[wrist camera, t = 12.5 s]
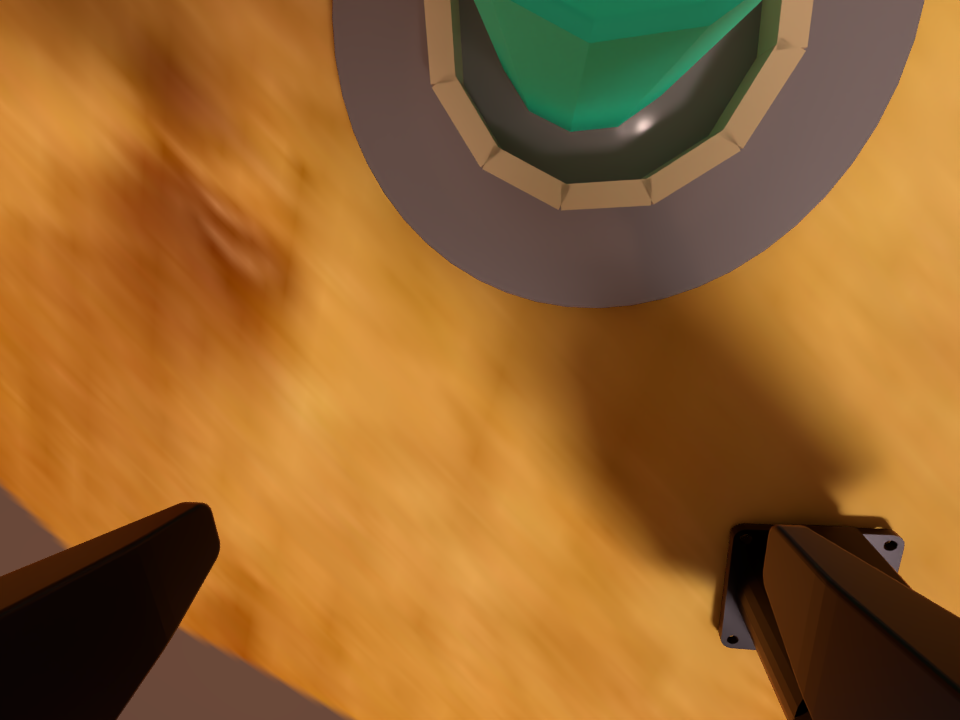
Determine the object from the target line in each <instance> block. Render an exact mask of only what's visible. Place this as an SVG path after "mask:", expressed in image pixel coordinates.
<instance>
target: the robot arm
mask: <svg viewBox="0 0 960 720" xmlns="http://www.w3.org/2000/svg"><path fill="white" fill-rule="evenodd" d="M745 534H747V535H748V536H747V537H746V538H740V537H741V536H742V535H745ZM887 541H890V542H889V543H888V544H885V543H886V542H887ZM903 550H904V541H903V539H902V538H901V537H900V536H899V535H898V534H897V533H896V532H894V531H893V530H889V529H871V528H855V527H842V526H816V525H778V524H777V525H768V524H738V525H736V526H734V527H733V528H732V529H731V532H730V538H729V546H728V555H727V563H726V572H725V580H724V589H723V597H722V606H721V614H720V623H719V631H718V632H719V636H720V639H721V642H722V643H723V645H725V646H726V647H729V648H737V649H750V650H757V653H758V655H759V657H760V659H761V662H762V664H763V666H764V669H765V671H766V673H767V675H768V678H769V680H770V682H771V684H772V687H773V689H774V691H775V694H776V696H777V698H778V700H779V703H780V705H781V707H782V709H783V712H784V714H785V716H786V719H787V720H960V618H959V617H958V616H956V615H954V614H953V613H951V612H949V611H948V610H946V609H944V608H942V607H941V606H939V605H937V604H936V603H934V602H932V601H931V600H929V599H927V598H926V597H924V596H922V595H920V594H919V593H917V592H915V591H914V590H912V588H911V587H910V586H909V585H908V584H907V583H906V582H905V581H904V580H903V578H902V577H901V576H900V575H899V574H898V570H899V566H900V562H901V558H902V554H903ZM219 551H220V540H219V536H218V532H217V529H216V525H215V521H214V517H213V513H212V510H211V508H210V507H209V506H208V505H207V504H205V503H198V502H183V503H179V504H177V505H174V506H172V507H169V508H167V509H165V510H162V511H160V512H157V513H155V514H152V515H150V516H147V517H145V518H143V519H140V520H138V521H135V522H133V523H130V524H128V525H125V526H123V527H121V528H118V529H116V530H113V531H111V532H108V533H106V534H103V535H101V536H98V537H96V538H94V539H91V540H89V541H86V542H84V543H81V544H79V545H76V546H74V547H72V548H69V549H67V550H64V551H62V552H59V553H57V554H54V555H52V556H50V557H47V558H45V559H42V560H40V561H37V562H35V563H32V564H30V565H28V566H25V567H23V568H20V569H18V570H15V571H13V572H11V573H8V574H6V575H3V576H1V577H0V720H117V719H118V717H119V716H120V714H121V713H122V711H123V710H124V708H125V707H126V705H127V704H128V703H129V701H130V700H131V698H132V697H133V695H134V694H135V692H136V691H137V689H138V688H139V686H140V685H141V683H142V682H143V681H144V679H145V678H146V676H147V675H148V673H149V672H150V670H151V669H152V667H153V666H154V664H155V663H156V661H157V660H158V658H159V657H160V655H161V654H162V652H163V651H164V649H165V648H166V646H167V645H168V643H169V641H170V640H171V638H172V636H173V635H174V633H175V631H176V630H177V628H178V626H179V624H180V623H181V621H182V619H183V617H184V616H185V614H186V612H187V610H188V609H189V607H190V605H191V603H192V602H193V600H194V598H195V596H196V594H197V593H198V591H199V589H200V587H201V586H202V584H203V582H204V580H205V579H206V577H207V575H208V573H209V572H210V570H211V568H212V566H213V564H214V563H215V561H216V559H217V557H218V554H219ZM732 635H734V636H732ZM729 636H732V637H729Z"/></svg>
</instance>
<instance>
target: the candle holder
mask: <svg viewBox="0 0 960 720" xmlns="http://www.w3.org/2000/svg"><path fill="white" fill-rule="evenodd" d="M923 4H924V0H762V1H761V2H760V3H759V4H758V5H757V6H756V7H755V8H754V9H753V10H752V11H750V12H749V13H748V14H747V15H746V16H745V17H744V18H743V19H742V20H741V21H740V22H739V23H738V24H737V25H736V26H735V27H733V28H732V29H731V30H730V31H729V32H728V33H727V34H726V35H725V36H724V37H723V38H722V39H721V40H720V41H719V42H718V43H716V44H715V45H714V46H713V47H712V48H711V49H710V50H709V51H708V52H707V53H706V54H705V55H704V56H703V57H702V58H701V59H699V60H698V61H697V62H696V63H695V64H694V65H693V66H692V67H691V68H690V69H689V70H688V71H687V72H686V73H685V74H684V75H682V76H681V77H680V78H679V79H678V80H677V81H676V82H675V83H674V84H673V85H672V86H671V87H670V88H669V89H668V90H667V91H665V92H664V93H663V94H662V95H661V96H660V97H659V98H657V99H656V100H654V101H653V102H652V103H650V104H649V105H647V106H646V107H645V108H643V109H642V110H640V111H639V112H638V113H636V114H635V115H634V116H632V117H631V118H629V119H628V120H627V121H625V122H624V123H622V124H621V125H620V126H618V127H611V128H602V129H593V130H583V131H574V132H569V131H567V130H565V129H563V128H561V127H559V126H558V125H556V124H554V123H552V122H550V121H548V120H546V119H544V118H542V117H540V116H538V115H536V114H534V113H532V112H530V111H529V110H528V109H527V107H526V105H525V104H524V102H523V100H522V99H521V97H520V96H519V94H518V92H517V91H516V89H515V87H514V86H513V84H512V82H511V81H510V79H509V77H508V76H507V74H506V73H505V71H504V69H503V67H502V65H501V62H500V60H499V58H498V55H497V53H496V51H495V48H494V46H493V44H492V41H491V39H490V37H489V35H488V32H487V30H486V28H485V25H484V23H483V21H482V18H481V16H480V14H479V11H478V9H477V7H476V4H475V2H474V0H333V14H332V19H333V32H334V45H335V58H336V63H337V69H338V74H339V79H340V85H341V90H342V96H343V99H344V102H345V106H346V109H347V112H348V115H349V119H350V122H351V125H352V129H353V132H354V134H355V136H356V139H357V141H358V143H359V146H360V148H361V150H362V153H363V155H364V157H365V159H366V162H367V164H368V166H369V167H370V169H371V171H372V173H373V174H374V176H375V178H376V180H377V181H378V183H379V185H380V187H381V188H382V190H383V192H384V193H385V195H386V196H387V197H388V199H389V200H390V201H391V203H392V204H393V205H394V207H395V208H396V209H397V211H398V212H399V214H400V215H401V216H402V218H403V219H404V220H405V221H406V222H407V223H408V224H409V225H410V226H411V227H412V228H413V230H414V231H415V232H416V233H417V234H418V235H419V236H420V237H421V238H422V239H423V240H424V241H425V242H426V243H427V244H428V245H429V246H431V247H432V248H433V249H434V250H436V251H437V252H438V253H439V254H441V255H442V256H443V257H444V258H445V259H447V260H448V261H449V262H450V263H452V264H453V265H455V266H457V267H458V268H460V269H461V270H463V271H465V272H466V273H468V274H470V275H471V276H473V277H474V278H476V279H478V280H480V281H482V282H484V283H486V284H489V285H491V286H493V287H495V288H497V289H500V290H502V291H504V292H506V293H509V294H513V295H516V296H519V297H523V298H526V299H529V300H533V301H536V302H542V303H548V304H554V305H560V306H566V307H585V308H606V307H617V306H628V305H635V304H640V303H645V302H650V301H654V300H659V299H664V298H667V297H670V296H673V295H676V294H679V293H682V292H685V291H688V290H691V289H694V288H697V287H699V286H701V285H704V284H706V283H708V282H710V281H712V280H714V279H716V278H718V277H720V276H722V275H724V274H727V273H729V272H731V271H733V270H734V269H736V268H737V267H739V266H741V265H742V264H744V263H745V262H747V261H749V260H750V259H752V258H753V257H755V256H757V255H758V254H760V253H761V252H763V251H765V250H766V249H767V248H768V247H770V246H771V245H772V244H773V243H775V242H776V241H777V240H778V239H780V238H781V237H782V236H784V235H785V234H786V233H787V232H789V231H790V230H791V229H792V228H794V227H795V226H796V225H797V224H798V223H799V222H800V221H801V220H802V219H803V218H804V217H805V216H806V215H807V214H808V213H809V212H810V211H811V210H812V209H813V208H814V207H815V206H816V205H817V204H818V203H819V202H820V201H821V200H822V199H823V198H824V197H825V196H826V195H827V194H828V193H829V191H830V190H831V189H832V188H833V187H834V185H835V184H836V183H837V182H838V180H839V179H840V178H841V177H842V176H843V174H844V173H845V172H846V171H847V169H848V168H849V167H850V166H851V165H852V163H853V162H854V160H855V159H856V157H857V156H858V154H859V153H860V151H861V149H862V148H863V146H864V145H865V143H866V142H867V140H868V139H869V137H870V136H871V134H872V133H873V131H874V129H875V128H876V126H877V125H878V123H879V121H880V119H881V117H882V115H883V113H884V111H885V109H886V107H887V105H888V103H889V101H890V99H891V97H892V95H893V93H894V91H895V89H896V87H897V85H898V83H899V80H900V77H901V75H902V72H903V69H904V67H905V64H906V61H907V59H908V56H909V53H910V51H911V48H912V45H913V43H914V40H915V36H916V32H917V28H918V24H919V20H920V16H921V12H922V8H923Z"/></svg>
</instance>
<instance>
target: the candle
mask: <svg viewBox="0 0 960 720" xmlns="http://www.w3.org/2000/svg"><path fill="white" fill-rule="evenodd" d="M761 1H762V0H474V2H475V4H476V7H477V9H478V11H479V14H480V16H481V18H482V21H483V23H484V25H485V28H486V30H487V32H488V35H489V37H490V39H491V41H492V44H493V46H494V48H495V51H496V53H497V55H498V58H499V60H500V62H501V65H502V67H503V69H504V71H505V73H506V74H507V76H508V77H509V79H510V81H511V82H512V84H513V86H514V87H515V89H516V91H517V92H518V94H519V96H520V97H521V99H522V100H523V102H524V104H525V105H526V107H527V109H528V110H529V111H530V112H532V113H534V114H536V115H538V116H540V117H542V118H544V119H546V120H548V121H550V122H552V123H554V124H556V125H558V126H559V127H561V128H563V129H565V130H567V131H569V132H574V131H583V130H593V129H602V128H611V127H618V126H620V125H621V124H622V123H624V122H625V121H627V120H628V119H629V118H631V117H632V116H634V115H635V114H636V113H638V112H639V111H640V110H642V109H643V108H645V107H646V106H647V105H649V104H650V103H652V102H653V101H654V100H656V99H657V98H659V97H660V96H661V95H662V94H663V93H664V92H665V91H667V90H668V89H669V88H670V87H671V86H672V85H673V84H674V83H675V82H676V81H677V80H678V79H679V78H680V77H681V76H682V75H684V74H685V73H686V72H687V71H688V70H689V69H690V68H691V67H692V66H693V65H694V64H695V63H696V62H697V61H698V60H699V59H701V58H702V57H703V56H704V55H705V54H706V53H707V52H708V51H709V50H710V49H711V48H712V47H713V46H714V45H715V44H716V43H718V42H719V41H720V40H721V39H722V38H723V37H724V36H725V35H726V34H727V33H728V32H729V31H730V30H731V29H732V28H733V27H735V26H736V25H737V24H738V23H739V22H740V21H741V20H742V19H743V18H744V17H745V16H746V15H747V14H748V13H749V12H750V11H752V10H753V9H754V8H755V7H756V6H757V5H758V4H759V3H760V2H761Z"/></svg>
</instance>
